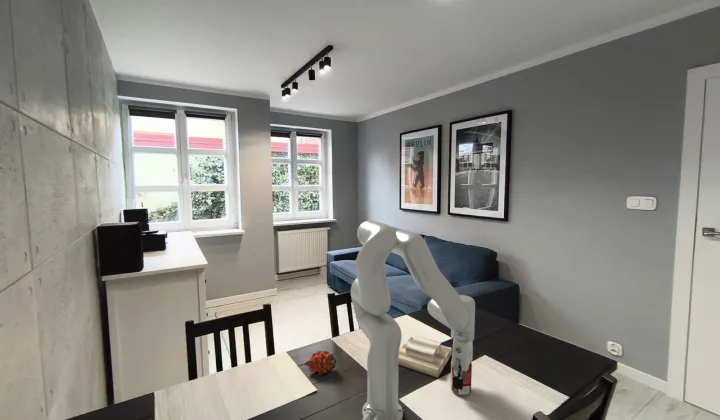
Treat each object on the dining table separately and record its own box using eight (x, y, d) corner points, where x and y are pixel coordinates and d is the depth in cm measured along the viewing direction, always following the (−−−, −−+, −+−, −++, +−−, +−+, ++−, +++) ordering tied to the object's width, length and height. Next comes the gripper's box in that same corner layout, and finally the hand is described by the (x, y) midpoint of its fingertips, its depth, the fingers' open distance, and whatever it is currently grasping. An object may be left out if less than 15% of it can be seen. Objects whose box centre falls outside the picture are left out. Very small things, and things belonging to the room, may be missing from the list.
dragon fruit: (339, 376, 119) (307, 381, 119) (337, 354, 125) (307, 359, 125) (335, 367, 113) (302, 372, 113) (334, 344, 120) (303, 349, 120)
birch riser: (437, 377, 116) (438, 362, 115) (393, 362, 125) (393, 348, 125) (451, 354, 131) (451, 341, 131) (411, 343, 141) (411, 330, 140)
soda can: (472, 398, 105) (473, 364, 104) (451, 395, 106) (452, 362, 105) (469, 385, 111) (470, 353, 110) (449, 383, 113) (450, 351, 112)
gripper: (467, 347, 98) (466, 399, 99) (479, 325, 112) (477, 371, 114) (444, 340, 101) (442, 391, 103) (457, 320, 116) (456, 365, 118)
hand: (461, 380), depth 108 cm, fingers open, 8 cm apart
